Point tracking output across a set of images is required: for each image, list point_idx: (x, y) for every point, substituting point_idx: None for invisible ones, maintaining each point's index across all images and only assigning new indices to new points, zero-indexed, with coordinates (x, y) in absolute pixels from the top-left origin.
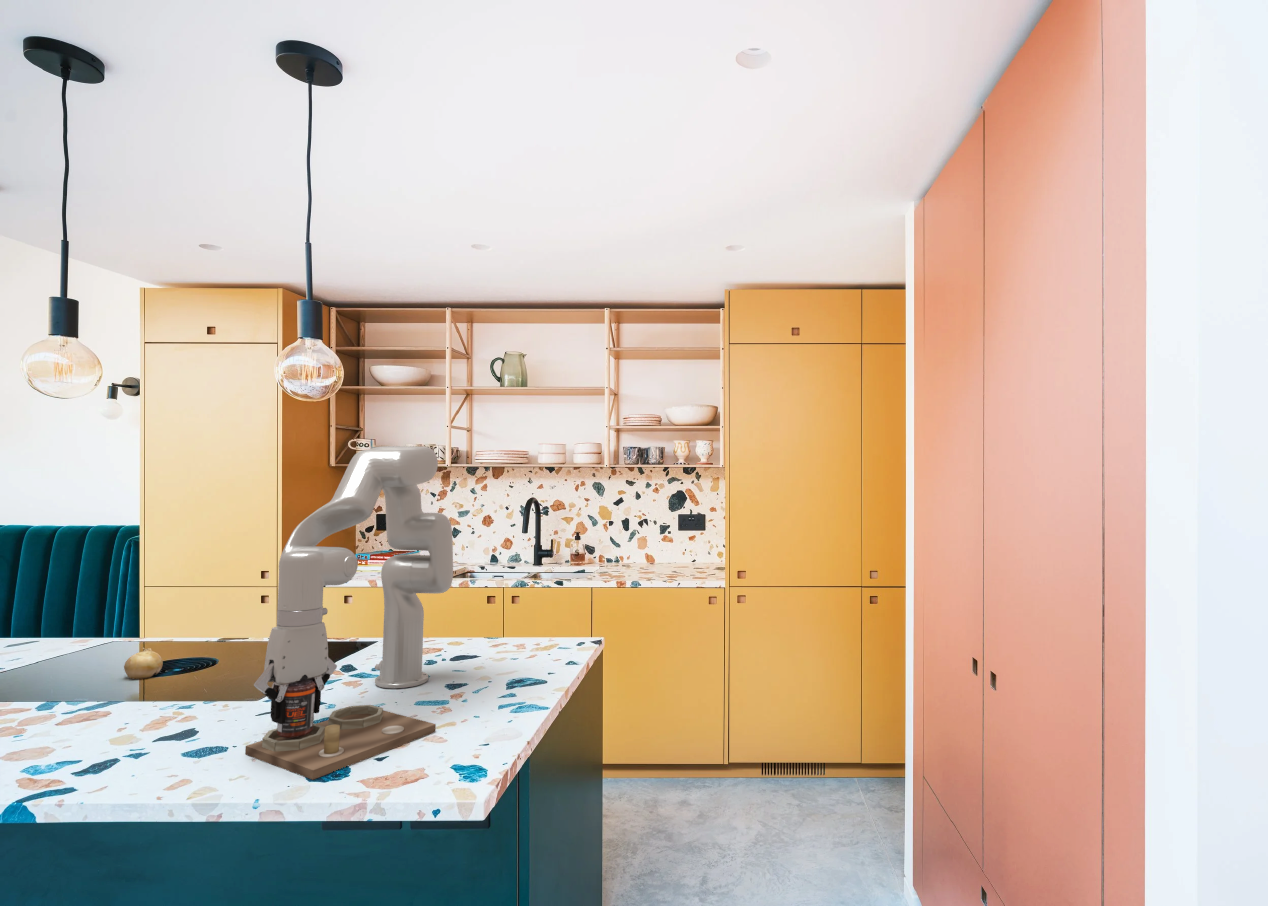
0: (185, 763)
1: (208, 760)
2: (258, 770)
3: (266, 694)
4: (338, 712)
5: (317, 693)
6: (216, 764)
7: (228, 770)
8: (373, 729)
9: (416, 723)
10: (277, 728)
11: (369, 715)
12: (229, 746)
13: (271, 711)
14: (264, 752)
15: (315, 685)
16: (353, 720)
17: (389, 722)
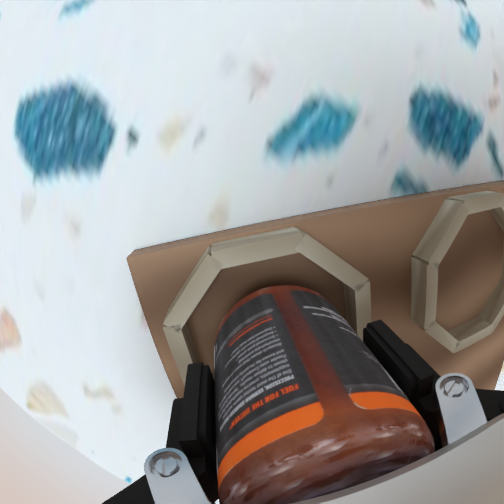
0: (7, 200)
1: (47, 220)
2: (143, 390)
3: (127, 500)
4: (469, 213)
5: None
6: (59, 272)
7: (82, 339)
8: (442, 367)
9: (489, 376)
10: (214, 347)
11: (498, 253)
12: (119, 127)
13: (173, 419)
14: (162, 361)
15: (435, 435)
16: (442, 342)
17: (482, 340)
